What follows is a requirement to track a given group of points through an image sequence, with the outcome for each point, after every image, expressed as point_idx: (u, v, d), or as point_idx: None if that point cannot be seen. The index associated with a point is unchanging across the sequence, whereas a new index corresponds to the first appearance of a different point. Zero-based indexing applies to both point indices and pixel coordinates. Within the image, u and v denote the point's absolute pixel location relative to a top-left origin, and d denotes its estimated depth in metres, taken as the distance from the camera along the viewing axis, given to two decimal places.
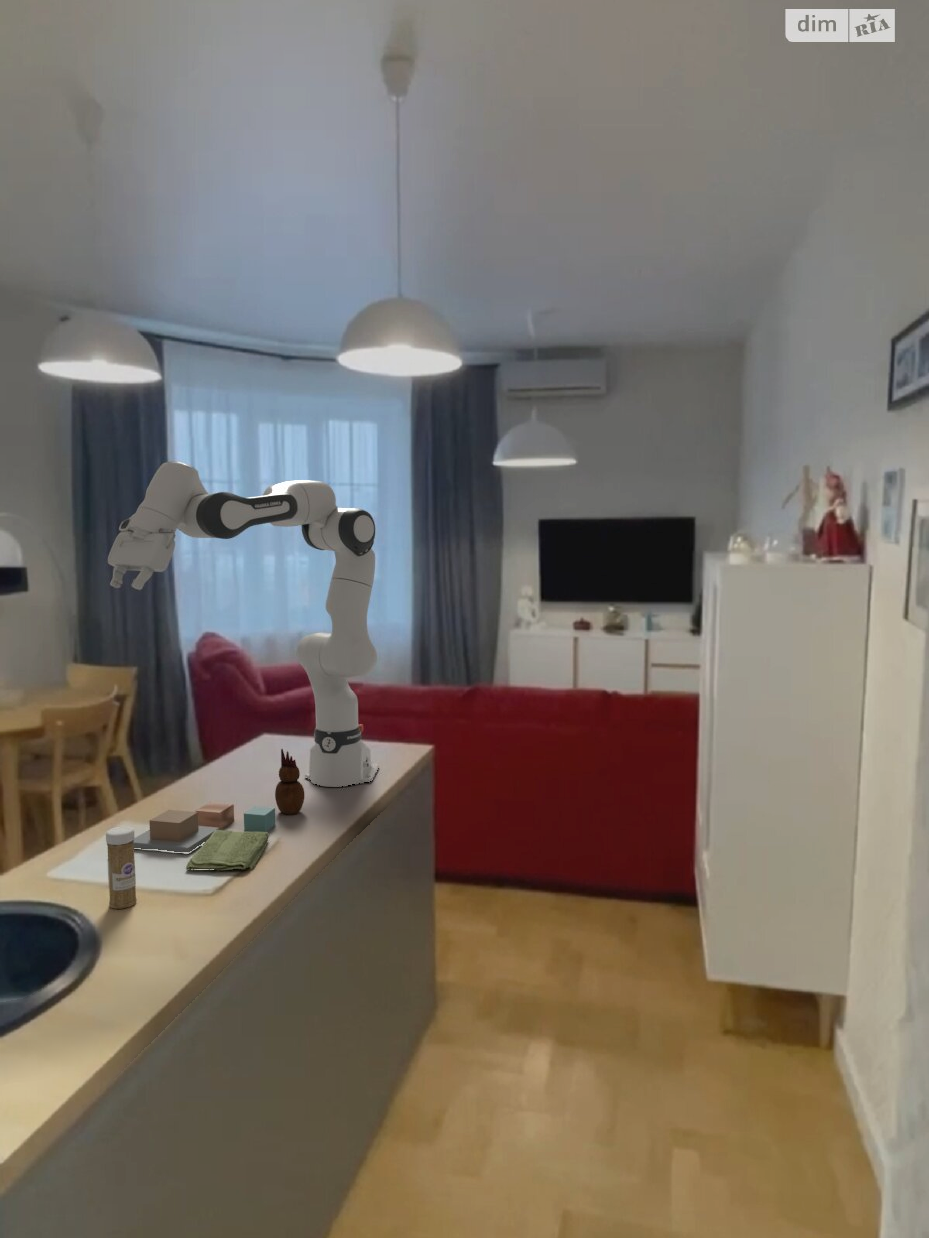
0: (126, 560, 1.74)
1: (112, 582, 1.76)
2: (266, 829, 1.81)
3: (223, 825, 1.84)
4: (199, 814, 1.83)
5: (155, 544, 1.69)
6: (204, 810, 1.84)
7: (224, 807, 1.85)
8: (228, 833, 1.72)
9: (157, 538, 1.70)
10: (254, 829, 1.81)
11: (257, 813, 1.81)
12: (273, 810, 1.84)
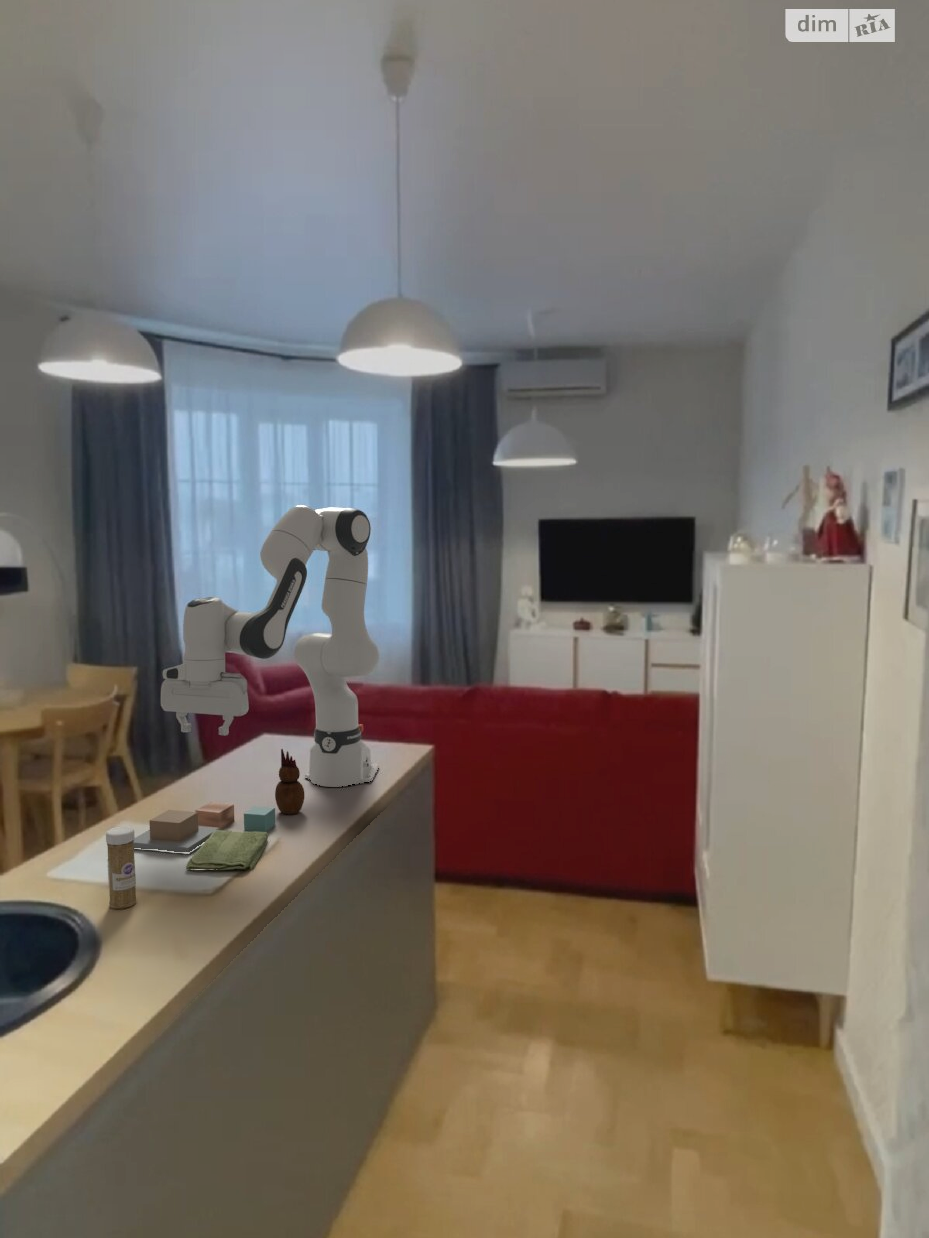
0: (195, 710, 1.81)
1: (184, 729, 1.83)
2: (266, 829, 1.81)
3: (222, 825, 1.84)
4: (199, 814, 1.83)
5: (232, 694, 1.78)
6: (204, 810, 1.84)
7: (224, 807, 1.85)
8: (227, 833, 1.72)
9: (230, 688, 1.78)
10: (254, 829, 1.81)
11: (257, 813, 1.81)
12: (273, 810, 1.84)
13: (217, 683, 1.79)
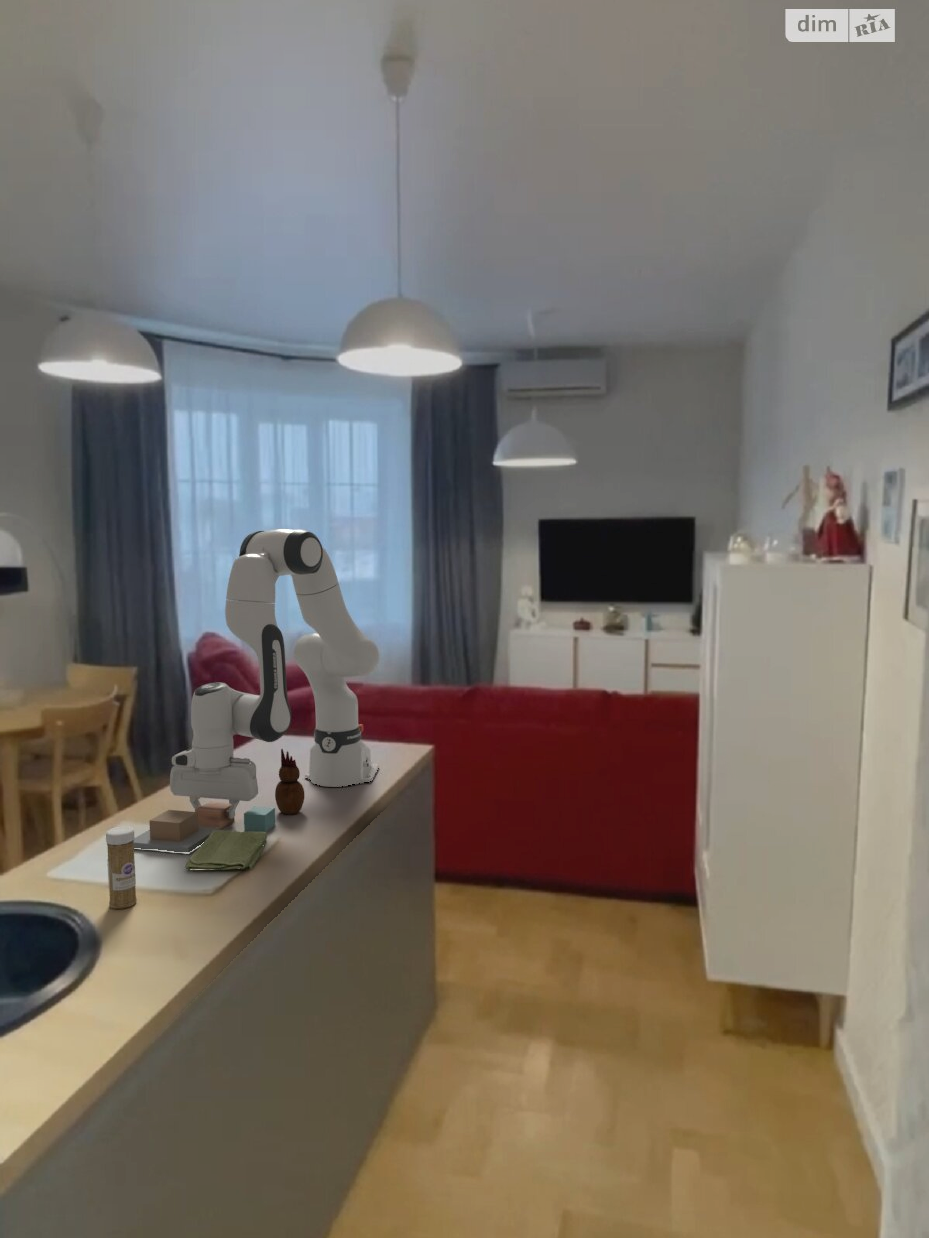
0: (205, 795, 1.84)
1: None
2: (266, 829, 1.81)
3: (222, 824, 1.84)
4: (199, 813, 1.84)
5: (242, 780, 1.81)
6: (204, 809, 1.84)
7: (224, 806, 1.85)
8: (226, 833, 1.72)
9: (240, 774, 1.81)
10: (254, 829, 1.81)
11: (257, 813, 1.81)
12: (273, 810, 1.84)
13: (226, 769, 1.82)
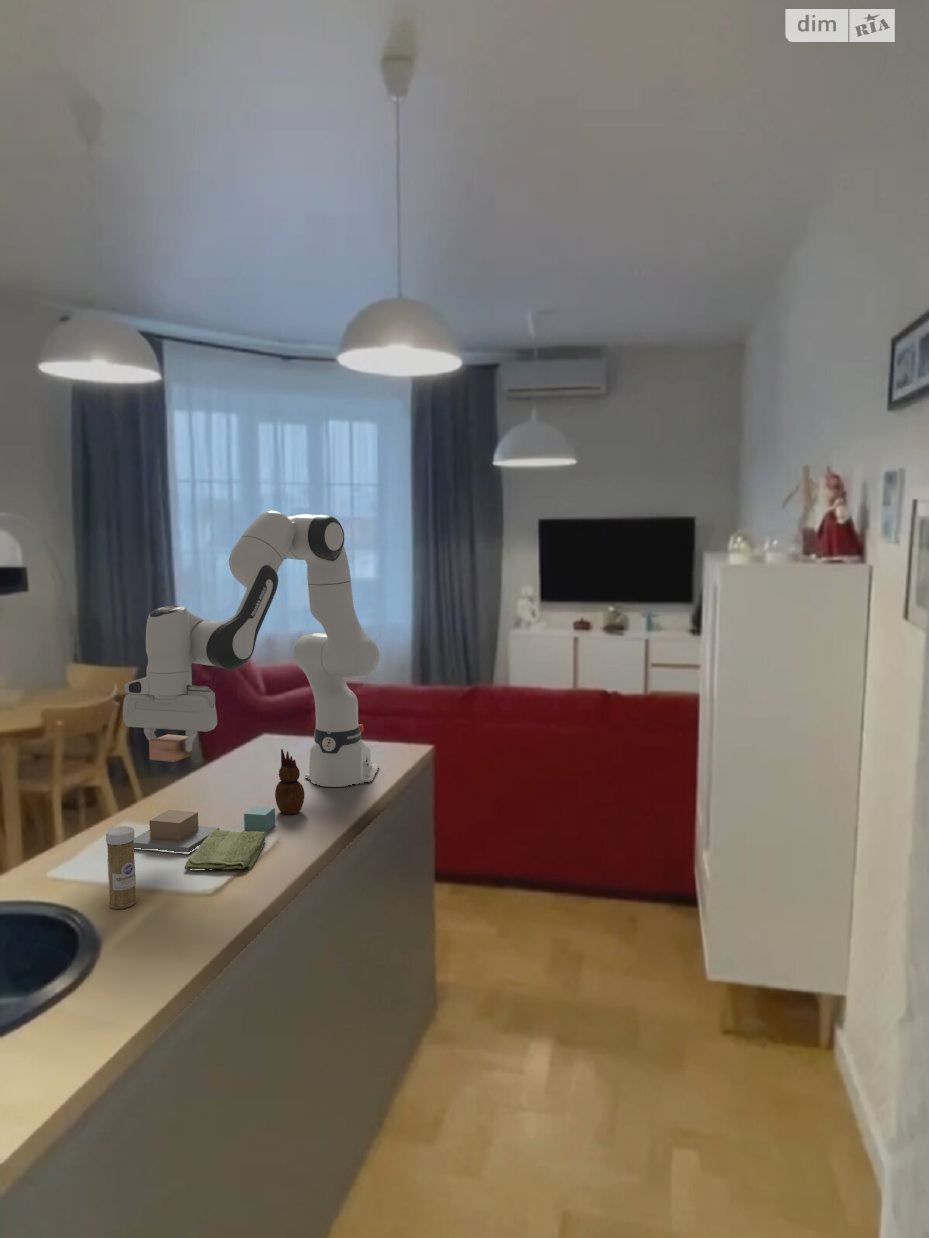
0: (160, 725, 1.71)
1: None
2: (267, 829, 1.81)
3: (178, 757, 1.71)
4: (153, 744, 1.71)
5: (200, 709, 1.69)
6: (158, 740, 1.71)
7: (181, 738, 1.73)
8: (225, 833, 1.72)
9: (197, 702, 1.69)
10: (254, 829, 1.81)
11: (257, 813, 1.81)
12: (273, 810, 1.84)
13: (183, 697, 1.69)
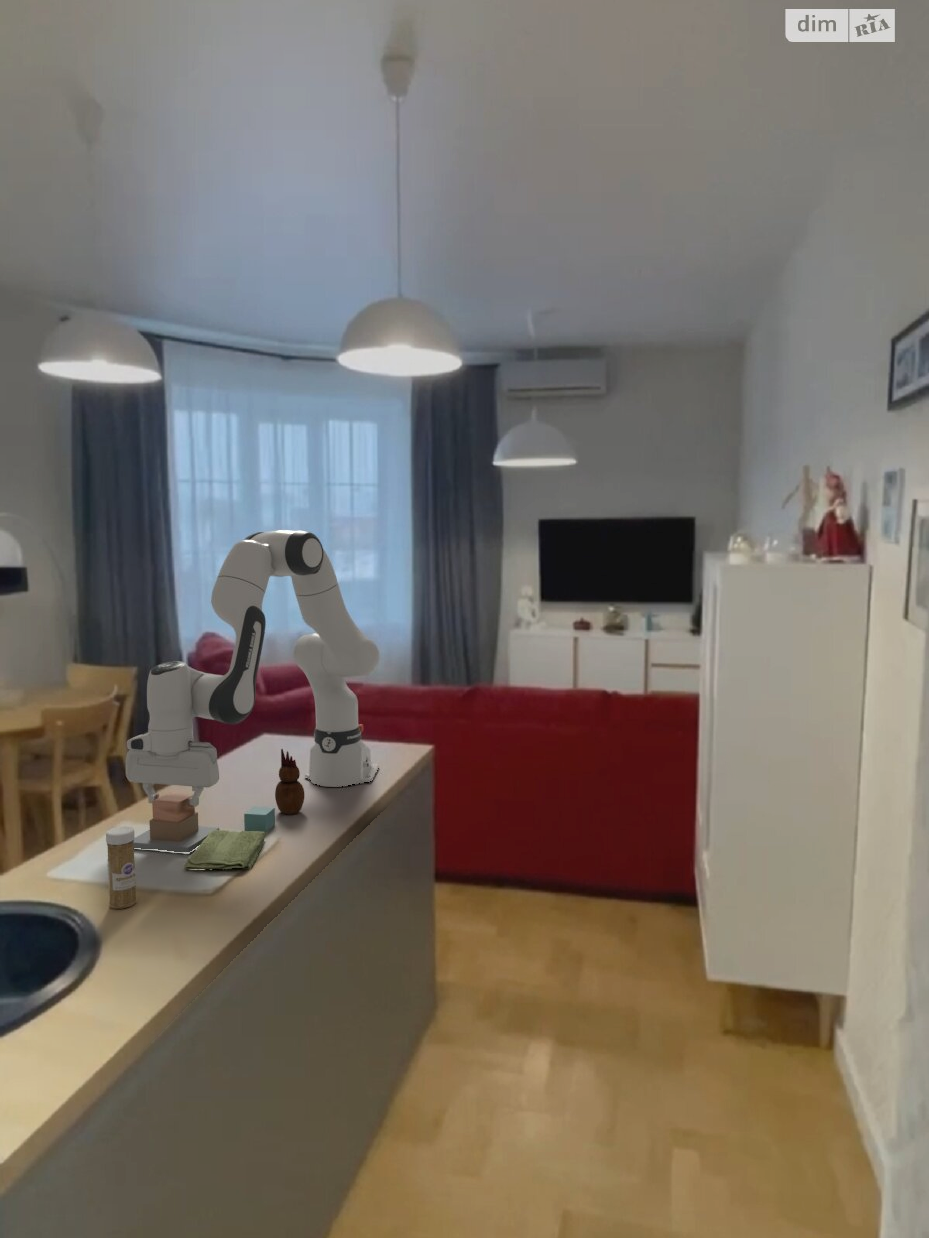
0: (163, 781, 1.72)
1: None
2: (267, 829, 1.81)
3: (181, 817, 1.72)
4: (156, 805, 1.72)
5: (202, 765, 1.70)
6: (161, 800, 1.72)
7: (183, 798, 1.74)
8: (225, 833, 1.73)
9: (199, 758, 1.70)
10: (255, 829, 1.81)
11: (257, 813, 1.81)
12: (273, 810, 1.84)
13: (185, 753, 1.71)
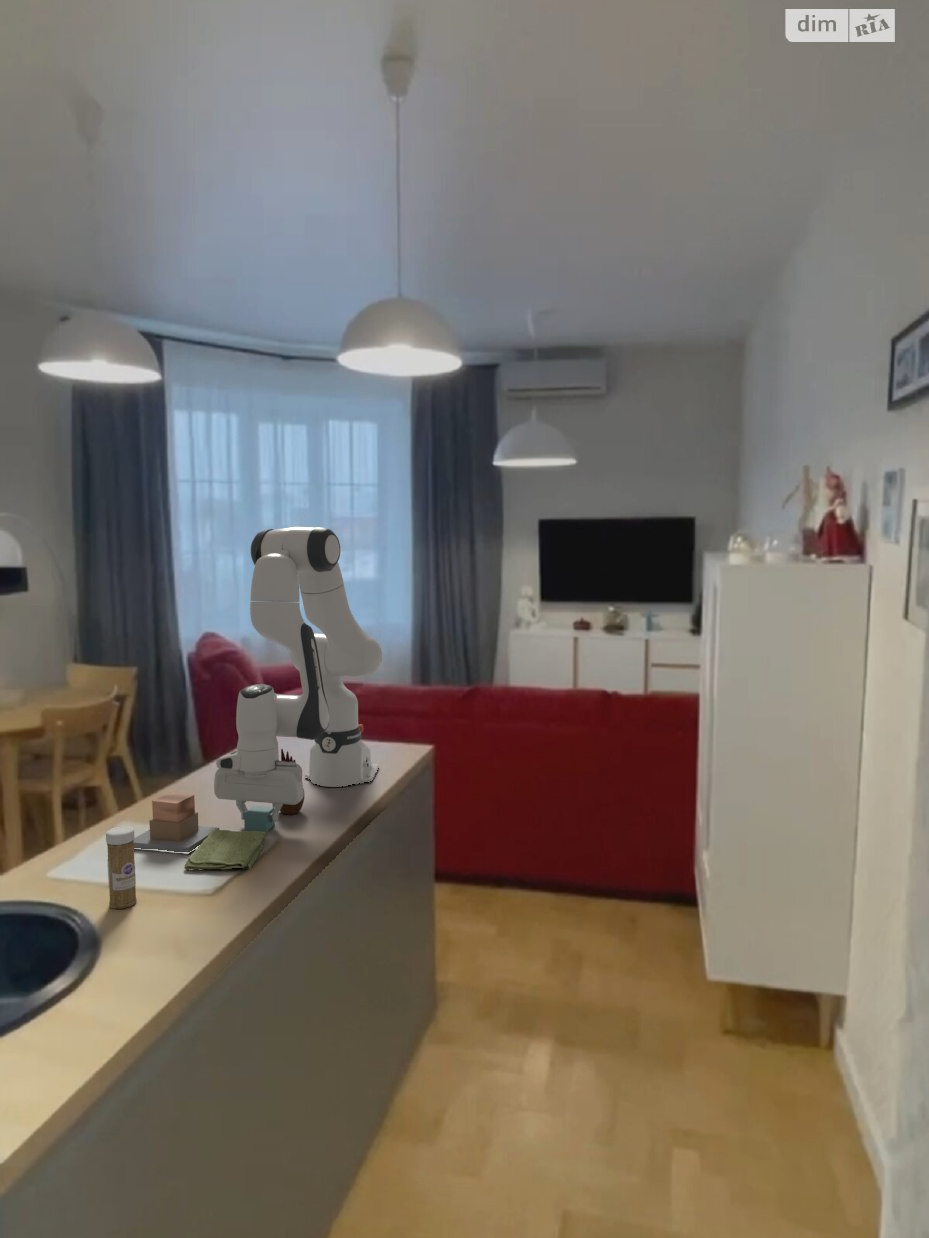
0: (251, 798, 1.81)
1: None
2: (267, 828, 1.81)
3: (181, 817, 1.72)
4: (156, 805, 1.72)
5: (288, 784, 1.79)
6: (161, 800, 1.72)
7: (183, 798, 1.74)
8: (225, 833, 1.73)
9: (286, 777, 1.79)
10: (255, 828, 1.81)
11: (257, 813, 1.81)
12: (273, 809, 1.84)
13: (272, 772, 1.80)
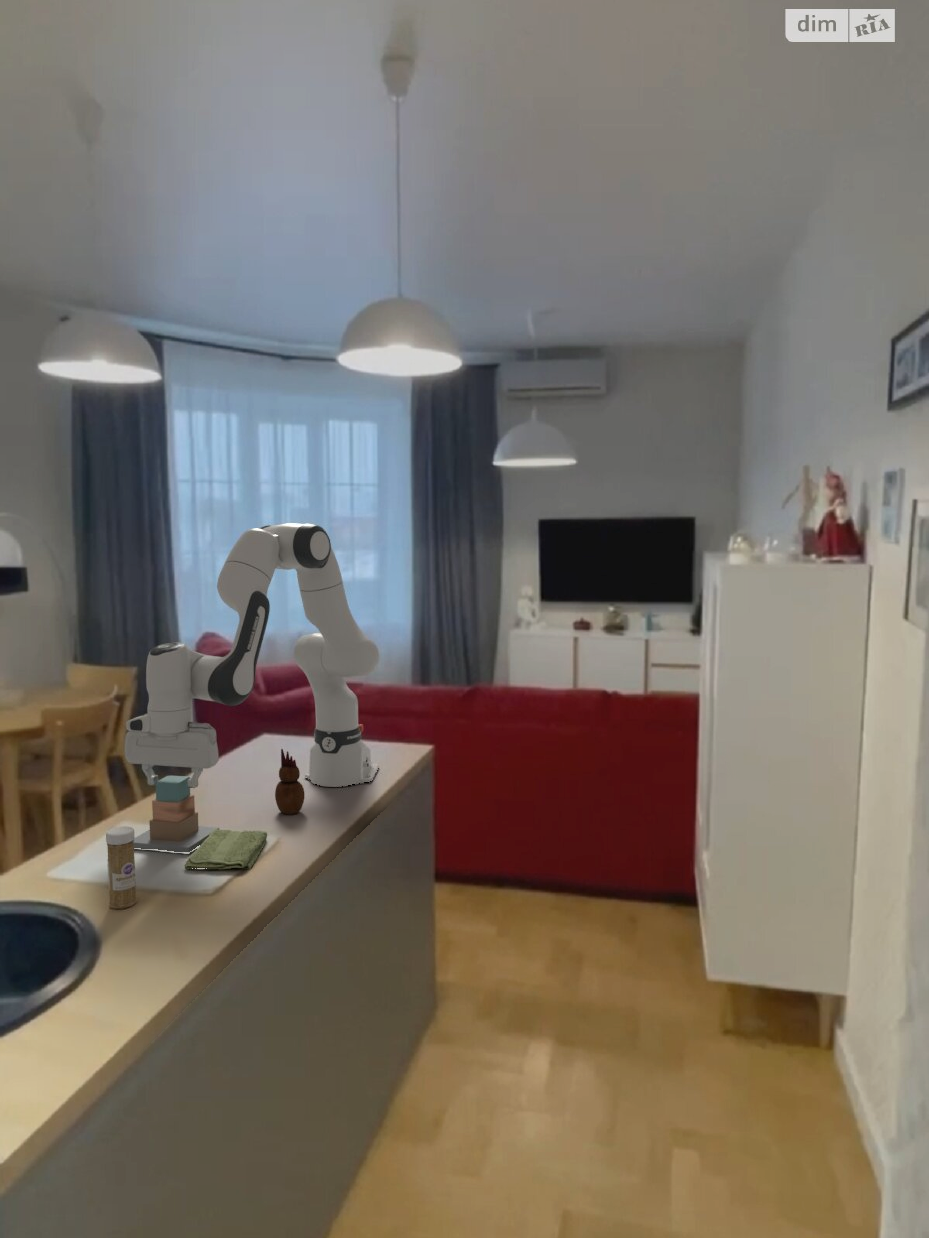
0: (162, 762, 1.72)
1: (151, 782, 1.74)
2: (180, 798, 1.72)
3: (181, 817, 1.72)
4: (156, 805, 1.72)
5: (201, 746, 1.69)
6: None
7: None
8: (226, 832, 1.73)
9: (199, 739, 1.69)
10: (167, 798, 1.72)
11: (170, 782, 1.72)
12: (187, 779, 1.75)
13: (184, 734, 1.70)
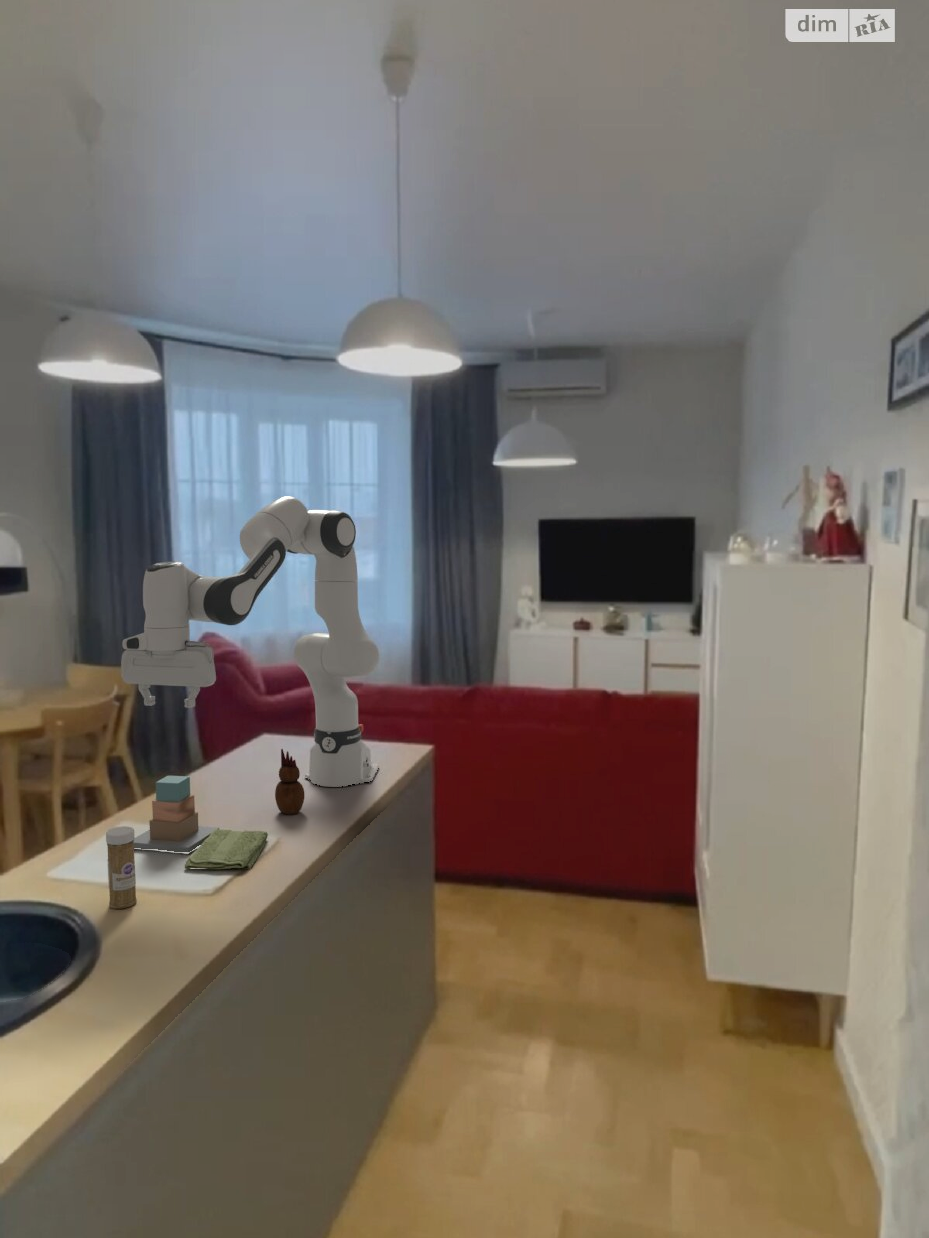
0: (159, 681, 1.70)
1: (147, 703, 1.72)
2: (180, 798, 1.72)
3: (181, 817, 1.72)
4: (156, 805, 1.72)
5: (198, 664, 1.68)
6: None
7: None
8: (227, 832, 1.73)
9: (196, 657, 1.68)
10: (167, 798, 1.72)
11: (170, 782, 1.72)
12: (187, 779, 1.75)
13: (181, 652, 1.68)
